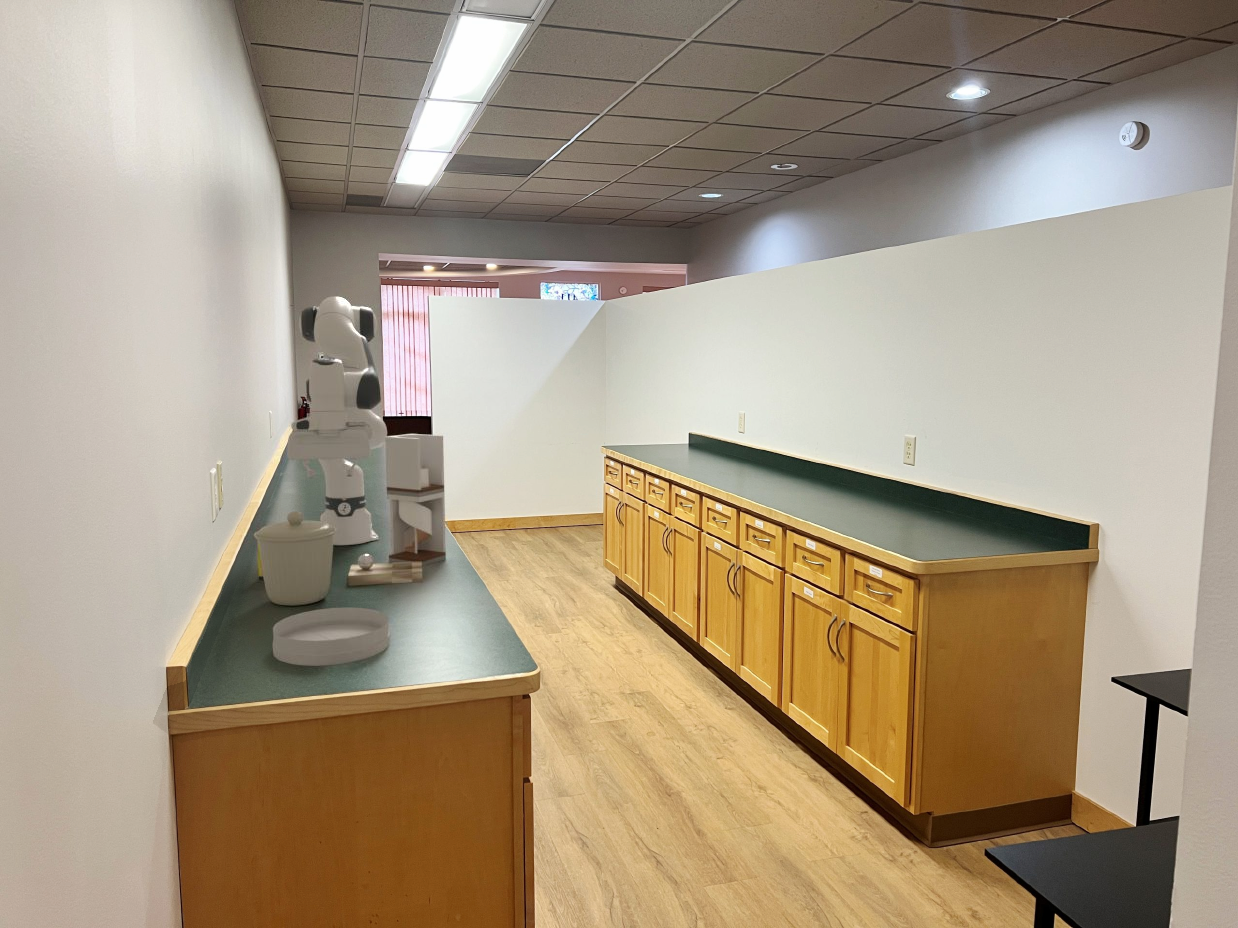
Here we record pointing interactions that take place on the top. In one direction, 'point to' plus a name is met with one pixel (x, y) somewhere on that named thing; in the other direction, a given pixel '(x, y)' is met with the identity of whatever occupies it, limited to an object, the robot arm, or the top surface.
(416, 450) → the display case
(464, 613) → the top surface
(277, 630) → the dish
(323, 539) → the canister
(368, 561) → the steel ball
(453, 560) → the top surface
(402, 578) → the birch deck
